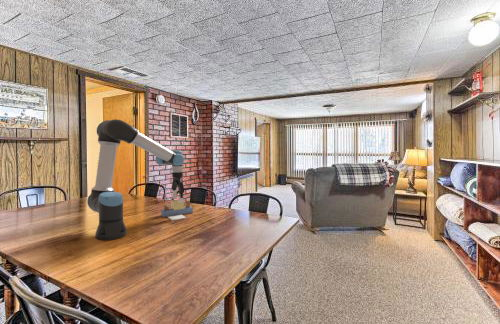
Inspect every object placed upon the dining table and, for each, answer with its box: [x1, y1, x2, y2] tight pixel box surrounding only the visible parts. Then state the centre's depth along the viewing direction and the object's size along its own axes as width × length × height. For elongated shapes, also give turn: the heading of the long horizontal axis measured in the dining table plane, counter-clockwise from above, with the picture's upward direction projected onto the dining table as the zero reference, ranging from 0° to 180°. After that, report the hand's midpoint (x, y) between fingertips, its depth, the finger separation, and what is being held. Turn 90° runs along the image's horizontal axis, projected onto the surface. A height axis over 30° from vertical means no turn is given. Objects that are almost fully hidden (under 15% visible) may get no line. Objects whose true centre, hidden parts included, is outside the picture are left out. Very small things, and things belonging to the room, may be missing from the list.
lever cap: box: [170, 199, 185, 210], centre depth 187 cm, size 6×8×6 cm
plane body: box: [160, 200, 194, 218], centre depth 187 cm, size 5×22×9 cm, turn 126°
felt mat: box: [167, 214, 187, 221], centre depth 176 cm, size 9×10×1 cm
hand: (177, 200), depth 187 cm, fingers open, 13 cm apart
